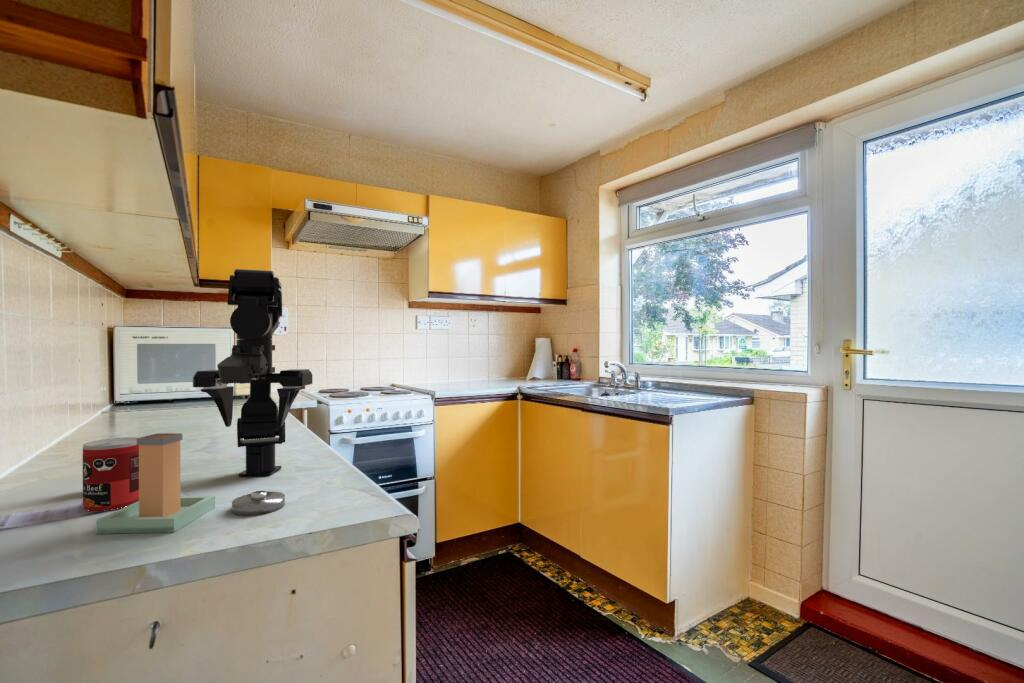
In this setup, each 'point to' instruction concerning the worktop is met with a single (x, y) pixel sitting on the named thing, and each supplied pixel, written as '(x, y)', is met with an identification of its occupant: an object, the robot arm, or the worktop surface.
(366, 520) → the worktop surface
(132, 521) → the tray
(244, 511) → the metal lid
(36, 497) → the worktop surface
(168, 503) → the grey-capped orange pillar
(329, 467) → the worktop surface
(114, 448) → the canned food
